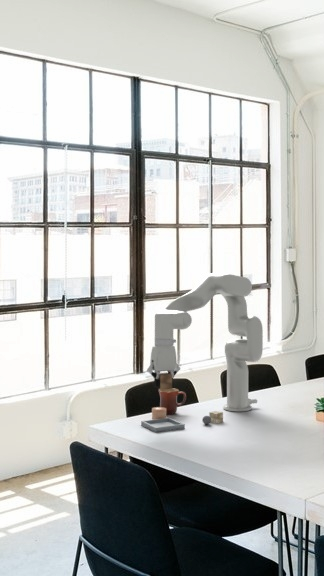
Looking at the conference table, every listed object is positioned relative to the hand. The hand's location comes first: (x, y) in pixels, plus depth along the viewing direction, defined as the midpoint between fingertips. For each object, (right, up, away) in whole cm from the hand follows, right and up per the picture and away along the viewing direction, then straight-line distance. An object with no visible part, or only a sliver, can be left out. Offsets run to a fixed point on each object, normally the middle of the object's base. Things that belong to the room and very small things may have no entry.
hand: (163, 387), depth 289 cm
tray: (0, -16, 0) cm, 16 cm away
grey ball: (+18, -14, +5) cm, 23 cm away
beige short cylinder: (-2, -16, +12) cm, 20 cm away
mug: (+4, -15, +25) cm, 29 cm away
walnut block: (0, 0, 0) cm, 0 cm away
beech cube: (+22, -16, +10) cm, 29 cm away
